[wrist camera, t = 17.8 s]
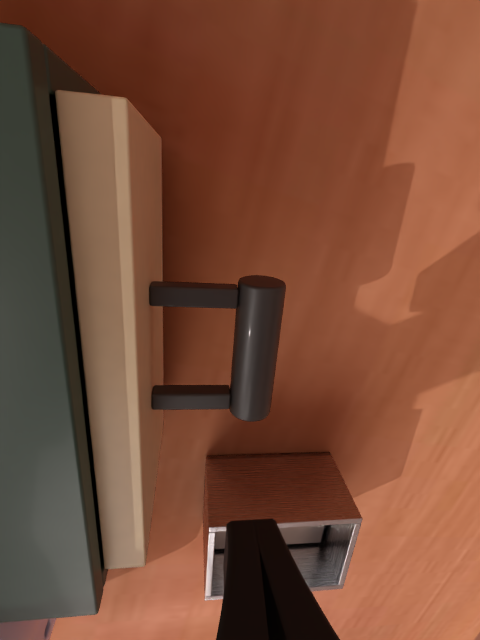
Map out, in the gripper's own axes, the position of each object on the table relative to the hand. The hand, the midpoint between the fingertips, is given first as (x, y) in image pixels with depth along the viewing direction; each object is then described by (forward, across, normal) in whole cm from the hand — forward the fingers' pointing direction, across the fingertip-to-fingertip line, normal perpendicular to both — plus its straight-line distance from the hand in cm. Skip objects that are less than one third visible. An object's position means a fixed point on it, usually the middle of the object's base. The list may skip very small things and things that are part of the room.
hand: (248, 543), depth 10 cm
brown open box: (+8, -3, +7) cm, 11 cm away
